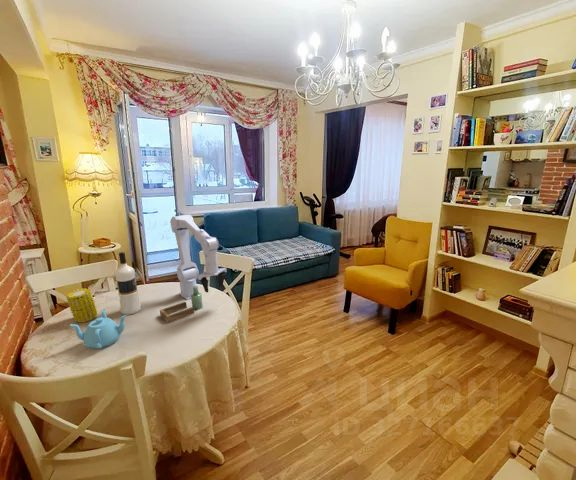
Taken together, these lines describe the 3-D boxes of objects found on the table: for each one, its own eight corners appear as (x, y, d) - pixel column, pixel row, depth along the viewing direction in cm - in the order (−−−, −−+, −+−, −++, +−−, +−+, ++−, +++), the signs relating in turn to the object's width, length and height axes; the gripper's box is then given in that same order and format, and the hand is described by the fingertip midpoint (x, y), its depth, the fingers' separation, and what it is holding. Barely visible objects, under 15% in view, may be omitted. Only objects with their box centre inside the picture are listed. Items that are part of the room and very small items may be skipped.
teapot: (97, 356, 113) (92, 332, 110) (72, 346, 119) (67, 323, 116) (131, 336, 126) (127, 314, 123) (107, 328, 132) (103, 307, 129)
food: (102, 318, 144) (80, 329, 135) (87, 308, 148) (65, 318, 140) (100, 291, 138) (76, 301, 129) (84, 282, 142) (60, 291, 134)
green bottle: (190, 307, 150) (188, 287, 147) (199, 304, 153) (197, 284, 150) (195, 310, 146) (192, 290, 144) (204, 307, 150) (202, 287, 147)
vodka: (118, 310, 148) (108, 252, 140) (138, 304, 154) (130, 248, 146) (122, 317, 141) (112, 256, 133) (143, 311, 147) (134, 252, 139)
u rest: (160, 315, 142) (159, 310, 141) (185, 306, 150) (185, 301, 150) (168, 323, 135) (167, 317, 135) (194, 313, 144) (193, 307, 143)
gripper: (201, 268, 135) (204, 296, 138) (229, 261, 144) (230, 287, 148) (194, 265, 140) (196, 291, 143) (221, 258, 149) (223, 283, 153)
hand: (213, 289), depth 146 cm, fingers open, 7 cm apart
